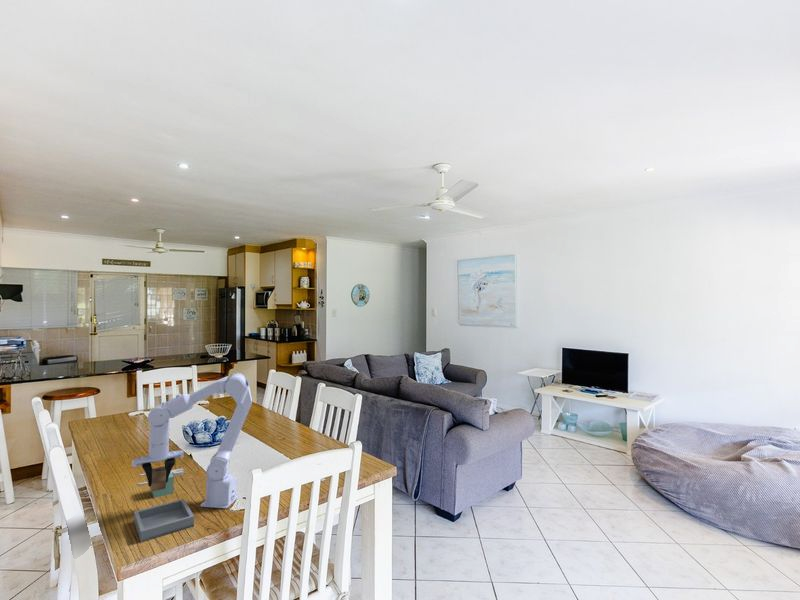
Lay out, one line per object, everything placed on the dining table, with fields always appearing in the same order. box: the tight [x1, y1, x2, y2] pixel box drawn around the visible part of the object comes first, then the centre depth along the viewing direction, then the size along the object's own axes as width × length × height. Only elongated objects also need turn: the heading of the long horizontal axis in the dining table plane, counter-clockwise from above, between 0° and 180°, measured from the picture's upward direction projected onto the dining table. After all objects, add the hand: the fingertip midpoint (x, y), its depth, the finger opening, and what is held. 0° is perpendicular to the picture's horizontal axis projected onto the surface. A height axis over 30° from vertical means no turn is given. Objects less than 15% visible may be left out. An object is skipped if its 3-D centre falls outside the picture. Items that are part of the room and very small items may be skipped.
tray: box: [133, 498, 195, 543], centre depth 126 cm, size 14×14×3 cm
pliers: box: [137, 468, 184, 486], centre depth 159 cm, size 10×2×15 cm
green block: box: [150, 472, 175, 499], centre depth 146 cm, size 6×6×8 cm
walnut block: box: [149, 465, 166, 493], centre depth 135 cm, size 4×4×6 cm
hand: (157, 483), depth 135 cm, fingers closed on walnut block, 4 cm apart
